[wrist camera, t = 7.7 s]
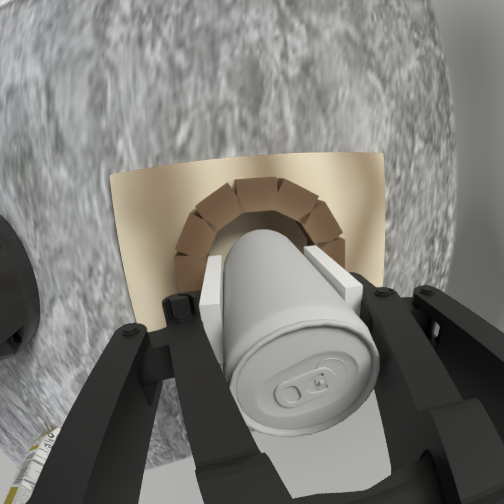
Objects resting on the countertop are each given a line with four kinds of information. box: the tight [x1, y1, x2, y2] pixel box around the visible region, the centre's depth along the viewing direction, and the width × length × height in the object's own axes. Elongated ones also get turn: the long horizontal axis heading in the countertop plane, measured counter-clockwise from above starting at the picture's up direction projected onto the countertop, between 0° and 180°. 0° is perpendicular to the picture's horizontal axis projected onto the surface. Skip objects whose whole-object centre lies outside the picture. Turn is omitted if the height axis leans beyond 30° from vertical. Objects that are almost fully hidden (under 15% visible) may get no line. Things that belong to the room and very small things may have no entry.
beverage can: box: [223, 229, 380, 437], centre depth 13 cm, size 5×5×12 cm
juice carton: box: [3, 427, 61, 504], centre depth 17 cm, size 8×9×19 cm
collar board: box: [110, 152, 385, 332], centre depth 20 cm, size 20×14×3 cm
